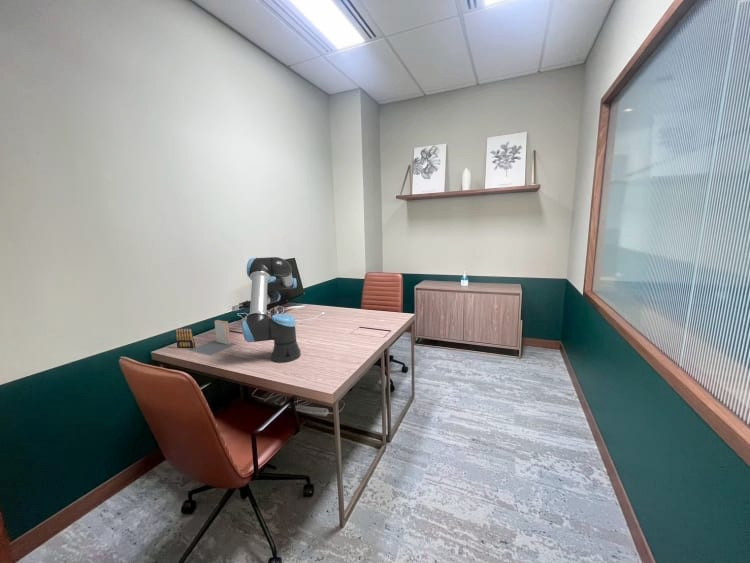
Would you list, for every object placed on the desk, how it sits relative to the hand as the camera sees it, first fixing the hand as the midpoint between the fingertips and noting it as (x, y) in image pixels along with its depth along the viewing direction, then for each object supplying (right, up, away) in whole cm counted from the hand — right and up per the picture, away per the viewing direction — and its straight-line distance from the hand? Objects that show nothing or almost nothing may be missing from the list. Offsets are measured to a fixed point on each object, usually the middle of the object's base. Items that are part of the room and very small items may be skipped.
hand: (233, 308), depth 188 cm
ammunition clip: (-23, -23, -11) cm, 34 cm away
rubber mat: (-7, -22, -11) cm, 26 cm away
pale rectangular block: (-4, -21, -5) cm, 22 cm away
